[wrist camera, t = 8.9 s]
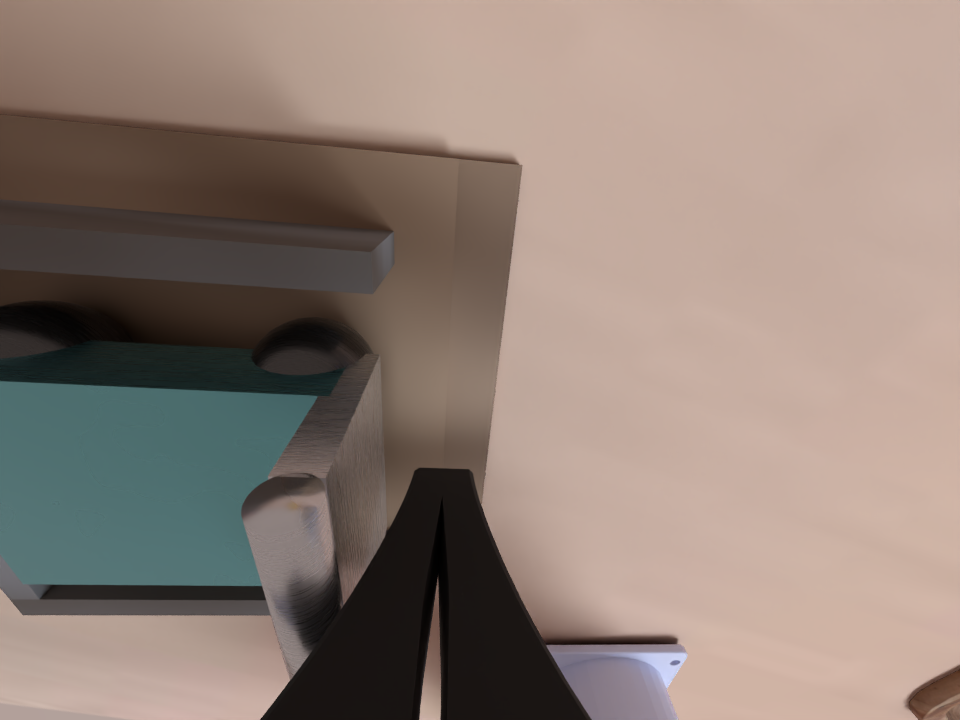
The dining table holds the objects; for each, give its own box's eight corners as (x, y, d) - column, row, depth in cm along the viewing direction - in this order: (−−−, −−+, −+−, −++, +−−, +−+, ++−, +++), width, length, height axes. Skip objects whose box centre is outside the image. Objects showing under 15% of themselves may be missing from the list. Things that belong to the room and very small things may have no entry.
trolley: (398, 501, 13) (350, 754, 8) (124, 494, 13) (-160, 769, 7) (394, 305, 10) (302, 491, 4) (21, 280, 9) (-707, 464, 3)
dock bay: (473, 563, 16) (476, 643, 13) (120, 558, 15) (44, 645, 12) (521, 165, 9) (546, 163, 6) (-132, 102, 8) (-434, 68, 5)
